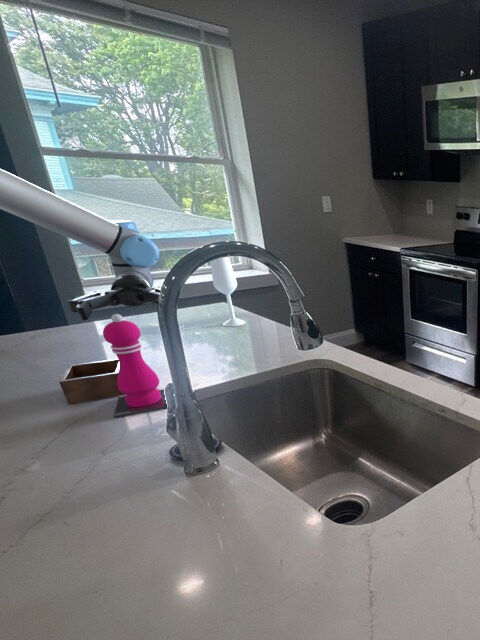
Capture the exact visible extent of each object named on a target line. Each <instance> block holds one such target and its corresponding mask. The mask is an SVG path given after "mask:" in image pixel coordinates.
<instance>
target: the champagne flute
mask: <svg viewBox="0 0 480 640" xmlns="http://www.w3.org/2000/svg"><path fill="white" fill-rule="evenodd" d="M209 262H210V261H209ZM210 270H211V276H212V284H213V288H214V289H215V290H217V291H218V292H219V293H221V294H222V295H225V297H226V301H227V307H228V310H229V316H230V318H229V319H228V320H226V321H225V322H223V324H222V326H224V327H238V326H241V325H242V326H243V325H244V324H246V320H243V319H240V318H239V317H236V315H235V310H234V306H233V302H232V297H231V294H233V293H234V291H235V290H236V289H237V287H238V281H237V278H236V274H235V271H234V268H233V266H232V263H231V259H230V256H229V257H225V258H219V259H217V260H215V261H212V262H210Z"/></svg>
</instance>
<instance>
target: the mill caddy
mask: <svg viewBox="0 0 480 640" xmlns="http://www.w3.org/2000/svg"><path fill="white" fill-rule="evenodd" d="M119 368H120V363H119V359H118V358H113V359H112V358H111V359H106V360H98V361H92V362H91V361H90V362H84V363H83V362H82V363H75V364H69V365H67V367H66V369H65V371H64V372H63V374H62V376H61V378H60V380H59V381H58V382H59V385H60V388H61V390H62V392H63V395H64V398H65V399H66V402H67V405H73V404H79V403H85V402H86V403H87V402H90V401H96V400H97V401H98V400H102V399H110V398H115V397H121V396H126V394H124V393H122V392H121V391H120V390H119V389H118V385H117V378H118V373H119Z"/></svg>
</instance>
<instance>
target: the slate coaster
mask: <svg viewBox="0 0 480 640" xmlns="http://www.w3.org/2000/svg"><path fill="white" fill-rule="evenodd" d="M164 389H165V388H164ZM164 389H159V390H160V393H161V399H160V400H159V401H158V402H156V403H154V404H151V405H148V406H143V407H130V406H128V405H127V403H126V400H125V396H126V395H122V396H118V397H117V402H116V405H115V409H114V413H113V418H114V419H117V418H123V417H128V416H129V417H130V416H134V415H138V414H144V413H149V412H155V411H161V410H166V409H168V408H167V404H166V400H165V395H164Z"/></svg>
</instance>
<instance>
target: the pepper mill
mask: <svg viewBox="0 0 480 640" xmlns="http://www.w3.org/2000/svg"><path fill="white" fill-rule="evenodd" d="M110 319H111V321H110V322H109V323H107V324H105V326H104V328H103V330H102V335H103V338H104V340H105V341H106V342H107V343H108V344H110V349H111V352H112V353H113V354H116V357H117V359H119V363H120V368H119V373H118V378H117V385H118V389H119V390H120V391H121V392H122V393H124V394H126V395H124V396H125V400H126V403H127V405H128V406H130V407H143V406H148V405H151V404H154V403H156V402H158V401H159V400H160V399H161V393H160V390H161V389H159V388H158V386H159V385H160V379H159V377H158V375H157V373H156V372H155V370H154V369H152V368H151V367H150V366H149V365H148V364H147V362H146V361H145V360H144V358H143V356H142V352H141V350H142V348H143V345H141V344H142V343H141V341H140V340H139V339H140V337H141V330H140V328H139V326H137V324H135V323H134V322H132V321H129V320H124V319H123V316H122V315H121V314H119V313H114V314H112V315H111V316H110Z"/></svg>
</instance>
